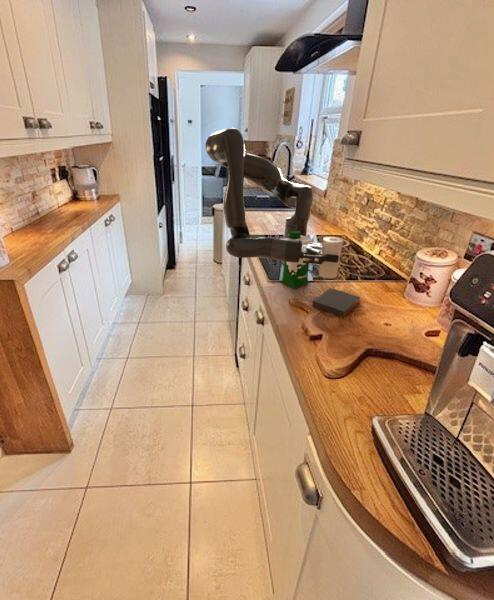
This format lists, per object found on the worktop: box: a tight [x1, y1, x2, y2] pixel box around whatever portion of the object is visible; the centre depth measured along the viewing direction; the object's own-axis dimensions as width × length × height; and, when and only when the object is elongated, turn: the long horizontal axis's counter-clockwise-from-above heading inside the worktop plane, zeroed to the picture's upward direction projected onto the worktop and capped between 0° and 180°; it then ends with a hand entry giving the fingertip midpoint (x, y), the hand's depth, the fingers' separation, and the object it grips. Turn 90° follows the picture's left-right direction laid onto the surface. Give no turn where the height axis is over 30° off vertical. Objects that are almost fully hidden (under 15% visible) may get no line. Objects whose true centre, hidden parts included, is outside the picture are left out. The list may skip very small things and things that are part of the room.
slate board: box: [311, 287, 361, 318], centre depth 111 cm, size 13×11×2 cm
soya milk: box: [281, 230, 315, 289], centre depth 122 cm, size 9×9×20 cm
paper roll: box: [318, 236, 344, 279], centre depth 104 cm, size 6×6×12 cm
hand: (338, 255), depth 103 cm, fingers closed on paper roll, 5 cm apart
